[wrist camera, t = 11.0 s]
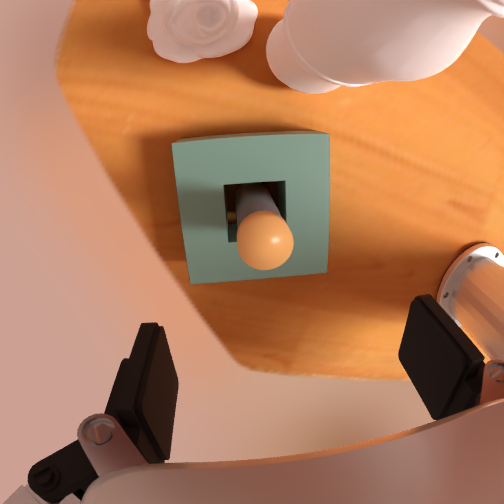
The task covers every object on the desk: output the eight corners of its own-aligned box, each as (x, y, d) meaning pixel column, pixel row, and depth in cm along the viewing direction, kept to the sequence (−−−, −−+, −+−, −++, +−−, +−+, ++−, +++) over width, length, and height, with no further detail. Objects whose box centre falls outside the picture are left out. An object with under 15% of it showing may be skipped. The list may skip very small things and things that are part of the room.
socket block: (314, 130, 27) (329, 133, 23) (314, 251, 32) (327, 272, 28) (180, 138, 27) (171, 143, 23) (195, 261, 32) (190, 284, 28)
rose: (172, -57, 16) (283, -22, 18) (179, -37, 20) (275, -5, 22) (114, 40, 19) (227, 78, 21) (130, 49, 23) (227, 83, 25)
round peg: (270, 178, 29) (293, 216, 19) (271, 214, 30) (293, 267, 20) (232, 181, 29) (235, 220, 19) (235, 216, 30) (239, 272, 20)
